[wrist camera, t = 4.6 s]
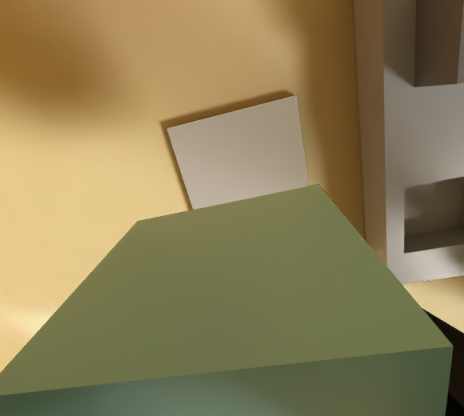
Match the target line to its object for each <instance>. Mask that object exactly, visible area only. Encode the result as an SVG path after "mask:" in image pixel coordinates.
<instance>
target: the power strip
mask: <svg viewBox="0 0 464 416" xmlns="http://www.w3.org/2000/svg"><path fill="white" fill-rule="evenodd" d="M353 6H354V25H355V44H356V64H357V83H358V102H359V122H360V141H361V160H362V180H363V199H364V218H365V238H366V242H367V243H368V244H369V246H370V247H371V248H372V249H373V250H374V252H375V253H376V254H377V255H378V256H379V258H380V259H381V260H382V261H383V262H384V264H385V265H386V266H387V267H388V268H389V270H390V271H391V272H392V273H393V274H394V276H395V277H396V278H397V279H398V280H399V282H400V283H401V284H407V283H414V282H421V281H428V280H435V279H442V278H449V277H456V276H463V275H464V0H353Z"/></svg>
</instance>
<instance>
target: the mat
mask: <svg viewBox="0 0 464 416" xmlns="http://www.w3.org/2000/svg"><path fill="white" fill-rule="evenodd" d="M167 131H168V134H169V137H170V140H171V144H172V147H173V150H174V153H175V156H176V159H177V162H178V165H179V168H180V171H181V174H182V177H183V180H184V184H185V187H186V190H187V193H188V196H189V199H190V202H191V205H192V208H193V210H194V209H199V208H204V207H209V206H214V205H219V204H224V203H229V202H233V201H238V200H243V199H248V198H253V197H258V196H263V195H268V194H272V193H277V192H282V191H287V190H292V189H297V188H302V187H307V186H309V184H308V176H307V169H306V161H305V154H304V146H303V139H302V132H301V124H300V117H299V109H298V102H297V95H294V96H290V97H286V98H282V99H278V100H274V101H270V102H267V103H263V104H259V105H255V106H251V107H247V108H243V109H239V110H235V111H232V112H228V113H224V114H220V115H216V116H212V117H208V118H204V119H201V120H197V121H193V122H189V123H185V124H181V125H177V126H173V127H169V128H167Z"/></svg>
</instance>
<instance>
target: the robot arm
mask: <svg viewBox="0 0 464 416" xmlns="http://www.w3.org/2000/svg"><path fill="white" fill-rule="evenodd" d="M423 310H424V309H423ZM424 312H425V313H426V314H427V315H428V316H429V318H430V319H431V320H432V321H433V322H434V324H435V325H436V326H437V327H438V328H439V330H440V331H441V332H442V333H443V334H444V336H445V337H446V338H447V339H448V340H449V342H450V343H451V344H452V345H453V353H452V361H451V370H450V378H449V387H448V395H447V404H446V412H445V416H464V333H463V332H461V331H459V330H458V329H456V328H454V327H453V326H451V325H449V324H447V323H446V322H444V321H442V320H441V319H439V318H437V317H436V316H434V315H432V314H431V313H429V312H427V311H426V310H424Z"/></svg>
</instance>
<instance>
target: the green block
mask: <svg viewBox="0 0 464 416" xmlns="http://www.w3.org/2000/svg"><path fill="white" fill-rule="evenodd" d="M452 353H453V345H452V344H451V343H450V342H449V340H448V339H447V338H446V337H445V336H444V334H443V333H442V332H441V331H440V330H439V328H438V327H437V326H436V325H435V324H434V322H433V321H432V320H431V319H430V318H429V316H428V315H427V314H426V313H425V312H424V310H423V309H422V308H421V307H420V306H419V304H418V303H417V302H416V301H415V300H414V298H413V297H412V296H411V295H410V294H409V292H408V291H407V290H406V289H405V288H404V286H403V285H402V284H401V283H400V282H399V280H398V279H397V278H396V277H395V276H394V274H393V273H392V272H391V271H390V270H389V268H388V267H387V266H386V265H385V264H384V262H383V261H382V260H381V259H380V258H379V256H378V255H377V254H376V253H375V252H374V250H373V249H372V248H371V247H370V246H369V244H368V243H367V242H366V241H365V240H364V238H363V237H362V236H361V235H360V234H359V232H358V231H357V230H356V229H355V228H354V226H353V225H352V224H351V223H350V222H349V220H348V219H347V218H346V217H345V216H344V214H343V213H342V212H341V211H340V210H339V208H338V207H337V206H336V205H335V204H334V202H333V201H332V200H331V199H330V198H329V196H328V195H327V194H326V193H325V192H324V190H323V189H322V188H321V187H320V186H319V184H316V185H312V186H307V187H302V188H297V189H292V190H287V191H282V192H277V193H272V194H268V195H263V196H258V197H253V198H248V199H243V200H238V201H233V202H229V203H224V204H219V205H214V206H209V207H204V208H199V209H194V210H189V211H185V212H180V213H175V214H170V215H165V216H160V217H155V218H150V219H146V220H141V221H137V222H136V223H135V224H134V226H133V227H132V228H131V229H130V230H129V231H128V232H127V233H126V234H125V236H124V237H123V238H122V239H121V240H120V241H119V242H118V243H117V244H116V246H115V247H114V248H113V249H112V250H111V251H110V252H109V253H108V254H107V255H106V257H105V258H104V259H103V260H102V261H101V262H100V263H99V264H98V265H97V267H96V268H95V269H94V270H93V271H92V272H91V273H90V274H89V275H88V277H87V278H86V279H85V280H84V281H83V282H82V283H81V284H80V285H79V286H78V288H77V289H76V290H75V291H74V292H73V293H72V294H71V295H70V296H69V298H68V299H67V300H66V301H65V302H64V303H63V304H62V305H61V306H60V308H59V309H58V310H57V311H56V312H55V313H54V314H53V315H52V316H51V317H50V319H49V320H48V321H47V322H46V323H45V324H44V325H43V326H42V327H41V329H40V330H39V331H38V332H37V333H36V334H35V335H34V336H33V337H32V339H31V340H30V341H29V342H28V343H27V344H26V345H25V346H24V347H23V348H22V350H21V351H20V352H19V353H18V354H17V355H16V356H15V357H14V358H13V360H12V361H11V362H10V363H9V364H8V365H7V366H6V367H5V368H4V370H3V371H2V372H1V373H0V416H445V412H446V404H447V395H448V387H449V378H450V370H451V361H452Z"/></svg>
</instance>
